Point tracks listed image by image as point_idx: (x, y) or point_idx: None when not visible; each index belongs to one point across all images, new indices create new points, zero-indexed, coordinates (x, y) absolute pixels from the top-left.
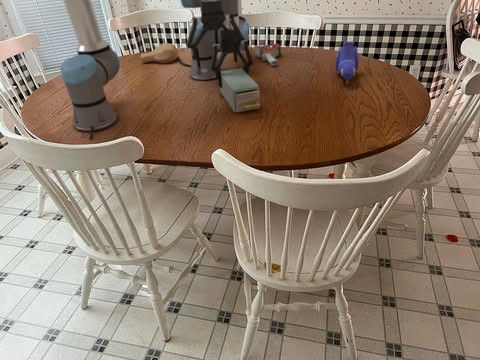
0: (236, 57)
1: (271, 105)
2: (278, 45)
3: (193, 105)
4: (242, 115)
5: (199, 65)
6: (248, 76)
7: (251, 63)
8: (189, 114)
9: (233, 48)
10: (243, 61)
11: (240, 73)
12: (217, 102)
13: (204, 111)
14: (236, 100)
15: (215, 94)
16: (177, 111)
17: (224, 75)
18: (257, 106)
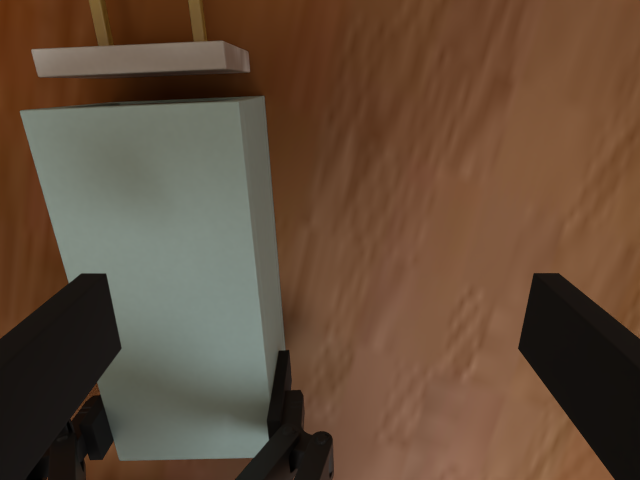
0: (54, 306)
1: (35, 106)
2: None
3: (457, 265)
4: (226, 31)
5: (561, 288)
6: None
7: None
8: (510, 163)
9: (19, 448)
10: (71, 468)
11: (137, 388)
12: (328, 256)
13: (423, 171)
14: (235, 60)
15: (316, 350)
16: (557, 224)
17: (249, 393)
18: None
